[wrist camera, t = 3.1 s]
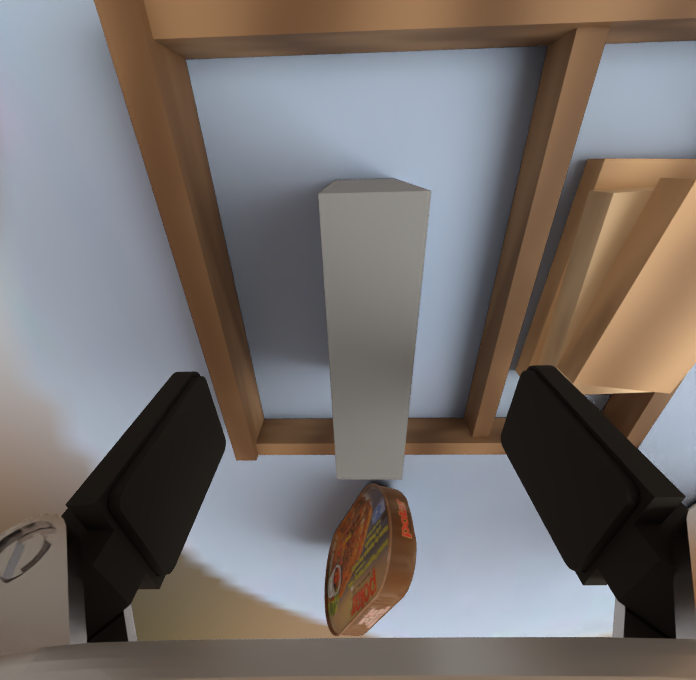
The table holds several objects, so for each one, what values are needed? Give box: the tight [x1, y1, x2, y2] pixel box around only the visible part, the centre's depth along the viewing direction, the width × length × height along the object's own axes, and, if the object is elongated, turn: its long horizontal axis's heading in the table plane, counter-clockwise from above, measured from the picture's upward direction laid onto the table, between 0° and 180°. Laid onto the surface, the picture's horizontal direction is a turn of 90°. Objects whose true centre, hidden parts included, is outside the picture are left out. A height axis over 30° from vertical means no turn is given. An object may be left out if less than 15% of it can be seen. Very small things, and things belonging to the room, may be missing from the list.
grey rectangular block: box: [318, 178, 431, 479], centre depth 15 cm, size 3×12×9 cm, turn 1°
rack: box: [94, 0, 696, 460], centre depth 17 cm, size 29×24×3 cm
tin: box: [325, 483, 416, 636], centre depth 27 cm, size 15×3×8 cm, turn 159°
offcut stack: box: [515, 159, 696, 395], centre depth 17 cm, size 7×13×5 cm, turn 0°
